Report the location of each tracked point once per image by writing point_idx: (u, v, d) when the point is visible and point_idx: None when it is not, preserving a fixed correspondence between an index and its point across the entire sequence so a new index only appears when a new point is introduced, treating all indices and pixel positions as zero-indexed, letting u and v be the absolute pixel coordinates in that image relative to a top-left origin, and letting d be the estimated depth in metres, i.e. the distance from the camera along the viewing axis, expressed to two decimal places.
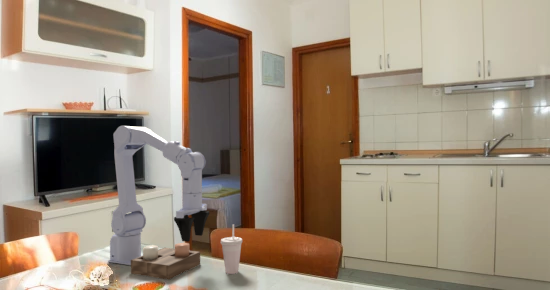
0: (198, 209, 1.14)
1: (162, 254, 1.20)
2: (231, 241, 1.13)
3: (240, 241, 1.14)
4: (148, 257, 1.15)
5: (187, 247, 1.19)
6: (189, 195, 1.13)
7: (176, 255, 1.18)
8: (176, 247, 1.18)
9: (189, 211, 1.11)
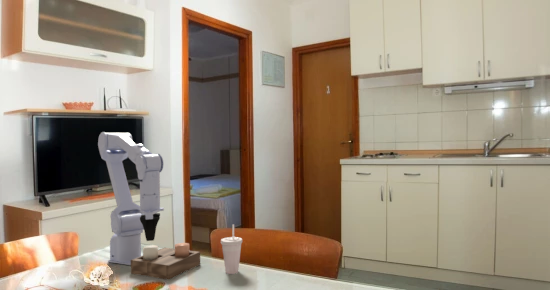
0: (159, 209, 1.17)
1: (162, 254, 1.20)
2: (231, 241, 1.13)
3: (240, 241, 1.14)
4: (148, 257, 1.15)
5: (187, 247, 1.19)
6: (152, 196, 1.15)
7: (176, 255, 1.18)
8: (176, 247, 1.18)
9: (155, 212, 1.13)
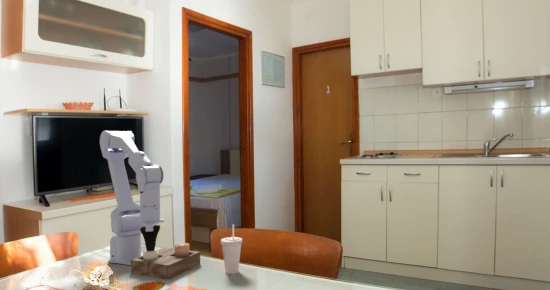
0: (159, 221, 1.17)
1: (162, 254, 1.20)
2: (231, 241, 1.13)
3: (240, 241, 1.14)
4: None
5: (187, 247, 1.19)
6: (152, 208, 1.15)
7: (176, 255, 1.18)
8: (176, 247, 1.18)
9: (155, 224, 1.13)
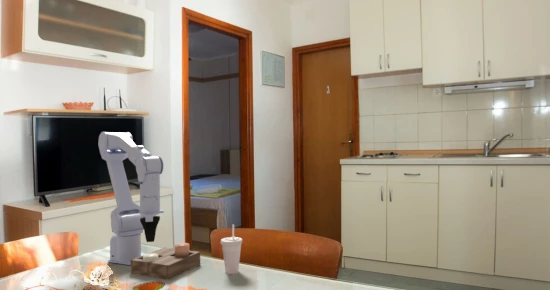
0: (159, 212, 1.17)
1: (162, 254, 1.20)
2: (231, 241, 1.13)
3: (240, 241, 1.14)
4: None
5: (187, 247, 1.19)
6: (152, 199, 1.15)
7: (176, 255, 1.18)
8: (176, 247, 1.18)
9: (155, 214, 1.13)
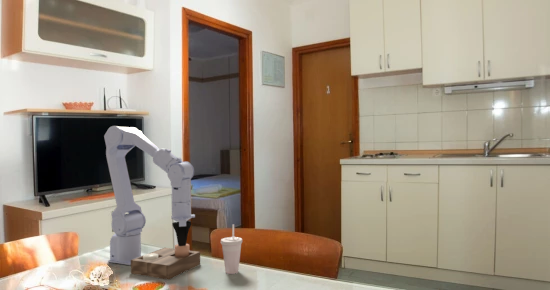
0: (191, 216, 1.19)
1: (162, 254, 1.20)
2: (231, 241, 1.13)
3: (240, 241, 1.14)
4: None
5: (187, 248, 1.19)
6: (184, 204, 1.17)
7: (176, 256, 1.18)
8: (176, 248, 1.18)
9: (187, 219, 1.16)
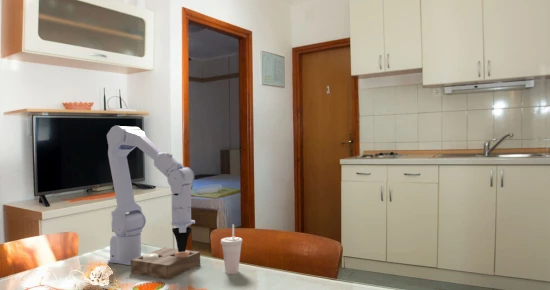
0: (191, 222, 1.19)
1: (162, 254, 1.20)
2: (231, 241, 1.13)
3: (240, 241, 1.14)
4: None
5: (187, 255, 1.19)
6: (184, 210, 1.17)
7: None
8: (176, 255, 1.18)
9: (187, 225, 1.16)
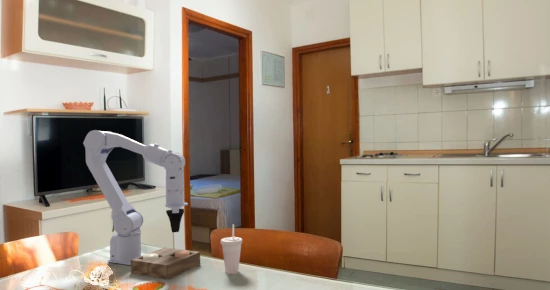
0: (184, 204, 1.27)
1: (162, 254, 1.20)
2: (231, 241, 1.13)
3: (240, 241, 1.14)
4: None
5: (187, 255, 1.19)
6: (177, 192, 1.25)
7: None
8: (176, 255, 1.18)
9: (180, 206, 1.23)
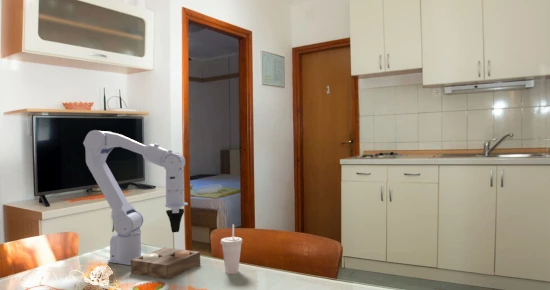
0: (184, 204, 1.27)
1: (162, 254, 1.20)
2: (231, 241, 1.13)
3: (240, 241, 1.14)
4: None
5: (187, 255, 1.19)
6: (177, 192, 1.25)
7: None
8: (176, 255, 1.18)
9: (180, 206, 1.23)
